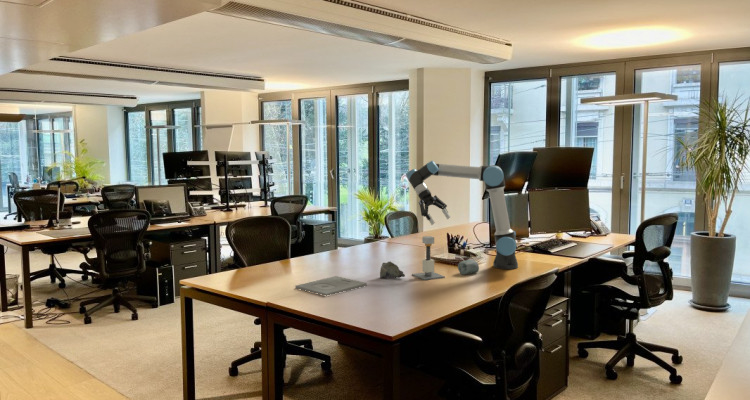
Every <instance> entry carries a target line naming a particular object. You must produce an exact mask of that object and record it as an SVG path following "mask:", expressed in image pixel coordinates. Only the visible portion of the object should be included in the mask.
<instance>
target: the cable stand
mask: <svg viewBox="0 0 750 400" xmlns="http://www.w3.org/2000/svg"><path fill="white" fill-rule="evenodd" d="M421 241H422V244H424V247H425V248H426V249H425V259H426V260H430V259H431V247H432V246H433V244H435V237H434V236H432V235H429V236H428V235H427V236H422V240H421ZM411 276H412V277H415V278H416V279H417V278H418V279H420V280H422V281H429V280H437V279H445V278H446V277H445V276H444V275H442V274H441V273H437V272H435V271H434V272H429V273H426V272H418V273H412V274H411Z"/></svg>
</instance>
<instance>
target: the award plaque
mask: <svg viewBox="0 0 750 400" xmlns="http://www.w3.org/2000/svg"><path fill="white" fill-rule="evenodd" d="M364 286H365V287H367V286H368V283H367V282H364V281H360V280H355V279H351V278H347V277H344V276H343V277H342V276H339V275H334V276H331V277H330V276H329V277H327V278H322V279H318V280H315V281H308V282H305V283H301V284H297V285H295V289H296V288H297V289H296V290H298V289H301V290H300V291H302V290H306V291H310V292H314V293H318V294H322V295H326V296H327V295H330V294H335V293H339V292H343V291H346V292H348V291H347V290H350V291H352V290H351V289H354V290H356V289H355V288H357V289H360V288H359V287H361V288H364ZM306 291H305V292H306ZM310 292H309V293H310ZM343 293H344V292H343ZM339 294H340V293H339ZM335 295H336V294H335Z"/></svg>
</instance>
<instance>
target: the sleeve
mask: <svg viewBox="0 0 750 400" xmlns="http://www.w3.org/2000/svg"><path fill="white" fill-rule="evenodd" d="M421 260H422V261H421V264H422V269H421V271H422V273H425V272H426V273H429V272H435V259H432V258H430V260H426V258H424V259H423V258H422V259H421Z"/></svg>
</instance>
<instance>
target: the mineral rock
mask: <svg viewBox="0 0 750 400" xmlns="http://www.w3.org/2000/svg"><path fill="white" fill-rule="evenodd" d="M402 277H406V274H405V273H404V271H403V270H401V269H400V268H399V266H398V265H397V264H395V263H394V262H392V261H387V262H382V264H381V267H380V271H379V278H380V279H398V278H399V279H400V278H402Z"/></svg>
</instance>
